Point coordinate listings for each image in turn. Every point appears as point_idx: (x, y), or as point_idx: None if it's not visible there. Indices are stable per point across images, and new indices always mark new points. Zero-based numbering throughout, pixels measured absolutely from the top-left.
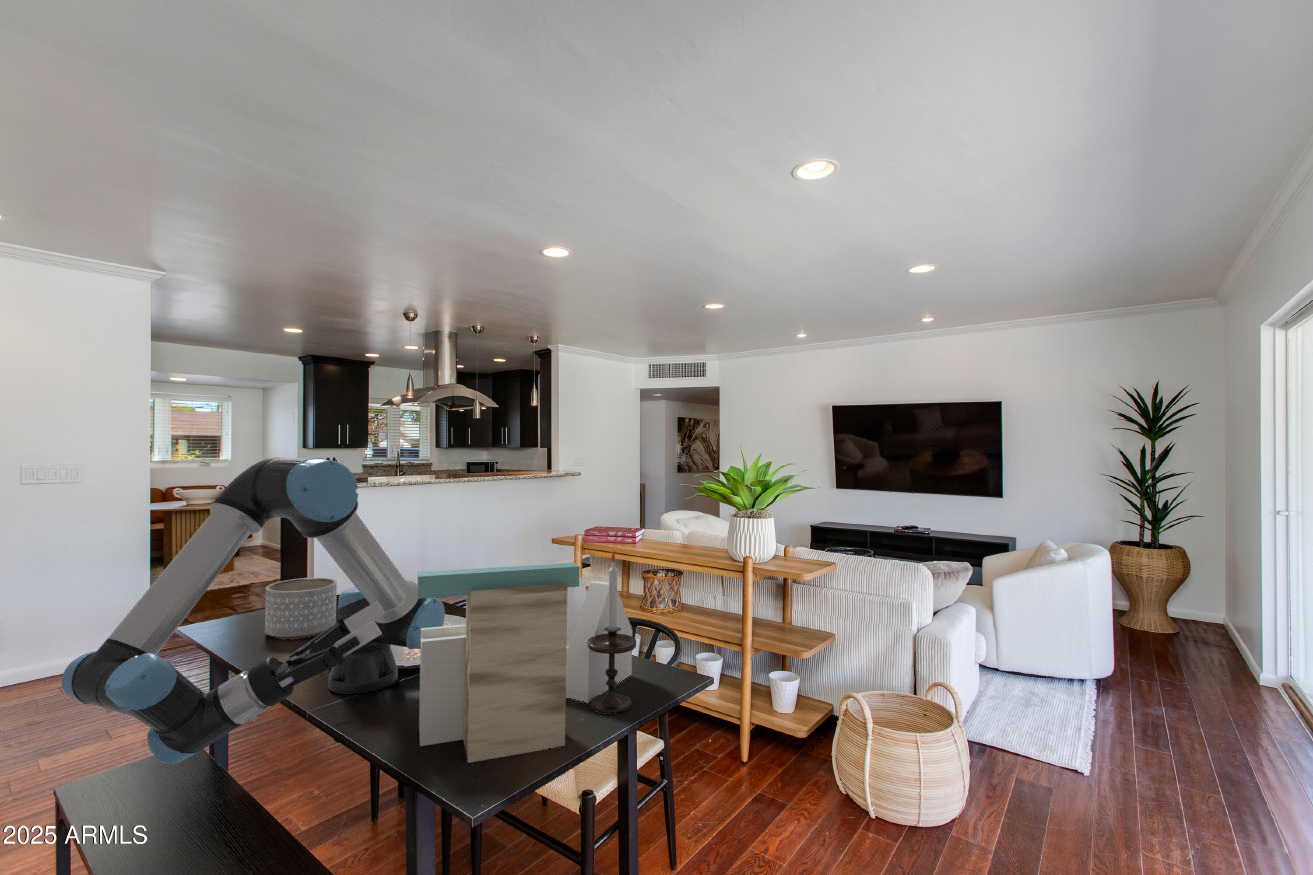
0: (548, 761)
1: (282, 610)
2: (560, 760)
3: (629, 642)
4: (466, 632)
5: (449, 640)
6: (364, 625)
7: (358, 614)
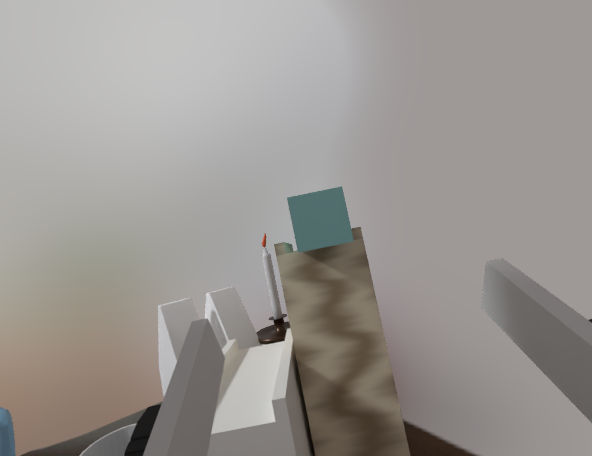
0: (420, 442)
1: None
2: (417, 432)
3: (286, 326)
4: (308, 335)
5: (289, 371)
6: (519, 281)
7: (187, 404)
